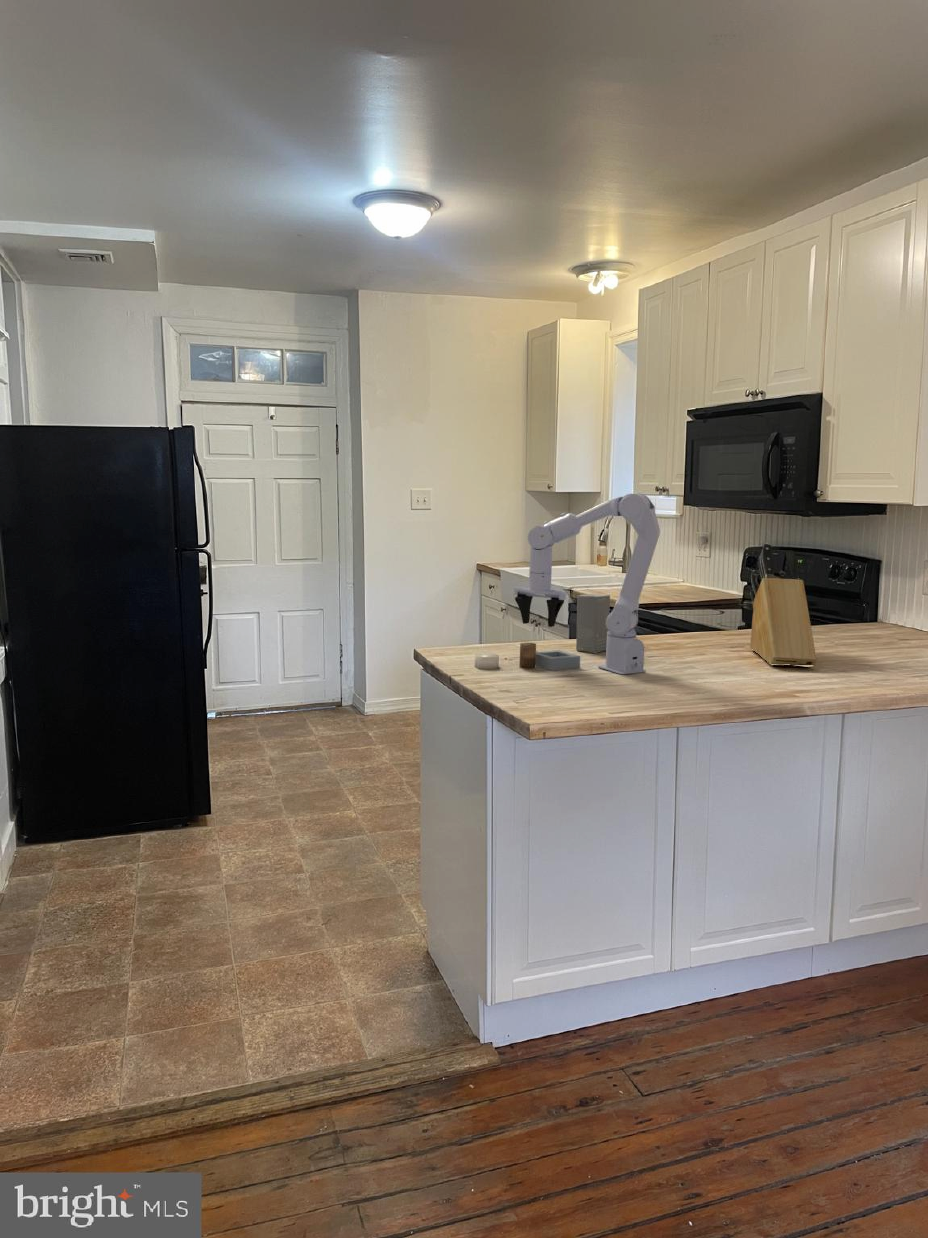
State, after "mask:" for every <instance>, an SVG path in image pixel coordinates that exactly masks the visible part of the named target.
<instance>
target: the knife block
mask: <svg viewBox="0 0 928 1238" xmlns="http://www.w3.org/2000/svg"><path fill="white" fill-rule="evenodd" d="M785 557H786V561H787V567H788V569H787V570H788V571H789V575H790V578H786V572H785V571H782V570H781V571H779V572H777V571H775V563H774V562H775V561H774V556H773V553H772V544H771V543H770V542H769V543H768V542H765V543H764V544H763V546H762V549H761V553H760V555H759V558H758V570H755V569H753V570H752V571H751V575H750V582H751V587H752V589H750V590H749V595H750V600H751V606H752V620H751V632H750V633H751V635H750V647H749V649H750V648H751V649H753V650H754V651H755V652H756V653H758V654H760V656H761V657H763V658H764V659H765V660H766V661H768V662H769V663H770V664H790V665H814V666H815V665H816V663H817V660H818V659H817V655H816V654H817V653H816V648H815V643H814V636H813V631H812V624H811V620H810V613H809V608H808V607H809V606H808V601H807V595H806V590H805V589H806V588H805V584H804V580H803V579H800V578H799V577H798V561H797V555H796V553H795V551H794V550H793V549H791V550H787V551H786V553H785ZM774 571H775V572H774ZM751 649H750V650H751ZM755 652H754V653H755ZM756 653H755V654H756ZM758 654H757V655H758ZM761 657H760V658H761ZM764 659H763V660H764ZM765 660H764V661H765ZM766 661H765V662H766ZM768 662H767V663H768ZM769 663H768V664H769ZM770 664H769V665H770Z"/></svg>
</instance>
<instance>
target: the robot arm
mask: <svg viewBox="0 0 928 1238" xmlns="http://www.w3.org/2000/svg"><path fill="white" fill-rule="evenodd" d="M609 516H610V517H612V516H613V517H623V519H625V520H626V522H628V523H630V525H631V526H632V528H633V529H634V531H635V532H636V533H637V538H636V540H635V541H636V542H635V545H634V548H633V551H632V554H631V557H630V561H629V563H628V568H627V571H626V572H625V573H626V574H625V577H624V580H623V583H622V586H621V590H620V593H619V596H618V598H617V600H616V602H615V604H614V606H613V609H612V610H611V612H610V614H609V615H608V616H607V618H606V627H607V629H608V632H607V646H606V650H605V664H600V665H598V666H597V668H599V669H601V670H602V669H603V670H606V671H609V672H613V673H616V674H619V675H628V674H638V673H646V672H647V670H646V669H644V665H645V664H644V663H645V645H644V642H643V641H642V640H641V639H639V638H638V637H637V632H636V630H635V628H636V626H637V625H638V622H639V615H638V611H639V607H640V598H641V594H642V591H643V588H644V585H645V583H646V582H645V581H646V578H647V575H648V572H649V569H650V566H651V564H652V563H651V562H652V559H653V556H654V553H655V550H656V547H657V544H658V540H659V537H660V534H661V528H660V524H659V521H658V517H657V514H656V506H655V505H654V503H653V502H652V501H651V499H650V497H648V496H647V495H646V494H644V493H627V494H624V495H623V496H618V497H615V498H611V499H608V500H607V501H604V502H602V503H600V504H597V505H596V506H594V507H591V508H590V509H588V510H585V511H583V512H582V513H579V514H574V513H572V512H569V513H567V512H563V513H560V516H559V517H557V518H555V519H552V520H551V521H549V520H546V521H544V522H543V525H535V526H534V527H533V528H531V529H530V530H529V531H528V534H527V542H528V544H529V546H530V549H529V570H528V572H529V574H528V576H529V577H528V587H521V586H516V587H513V595H514V596H516V597H514V600H515V602H516V604H517V606H518V609H519V613H520V616H521V620H522V621H521V622H522V624H523V625H524V624H529V623H530V620H531V619H530V616H531V604H532V601H533V597H535V598H544V599H546V600H545V601H546V606H547V626H548V627H549V628H552V627H555V625H556V621H557V617H558V615H559V613H560V611H561V608H562V607H563V605H564V603H565V600H567V592H566V591H562V590H555V589H552V575H553V574H552V570H553V569H552V568H553V567H552V566H553V546H554V545H555V544H557V543H560V542H563V541H565V540H567V539H569V538H572V537H574V536H577V535H579V534H580V532H581V529H583V527H585V526H587V525H589V524H592V523H595V522H597V521H600V520H601V519H604V518H607V517H609Z"/></svg>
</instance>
